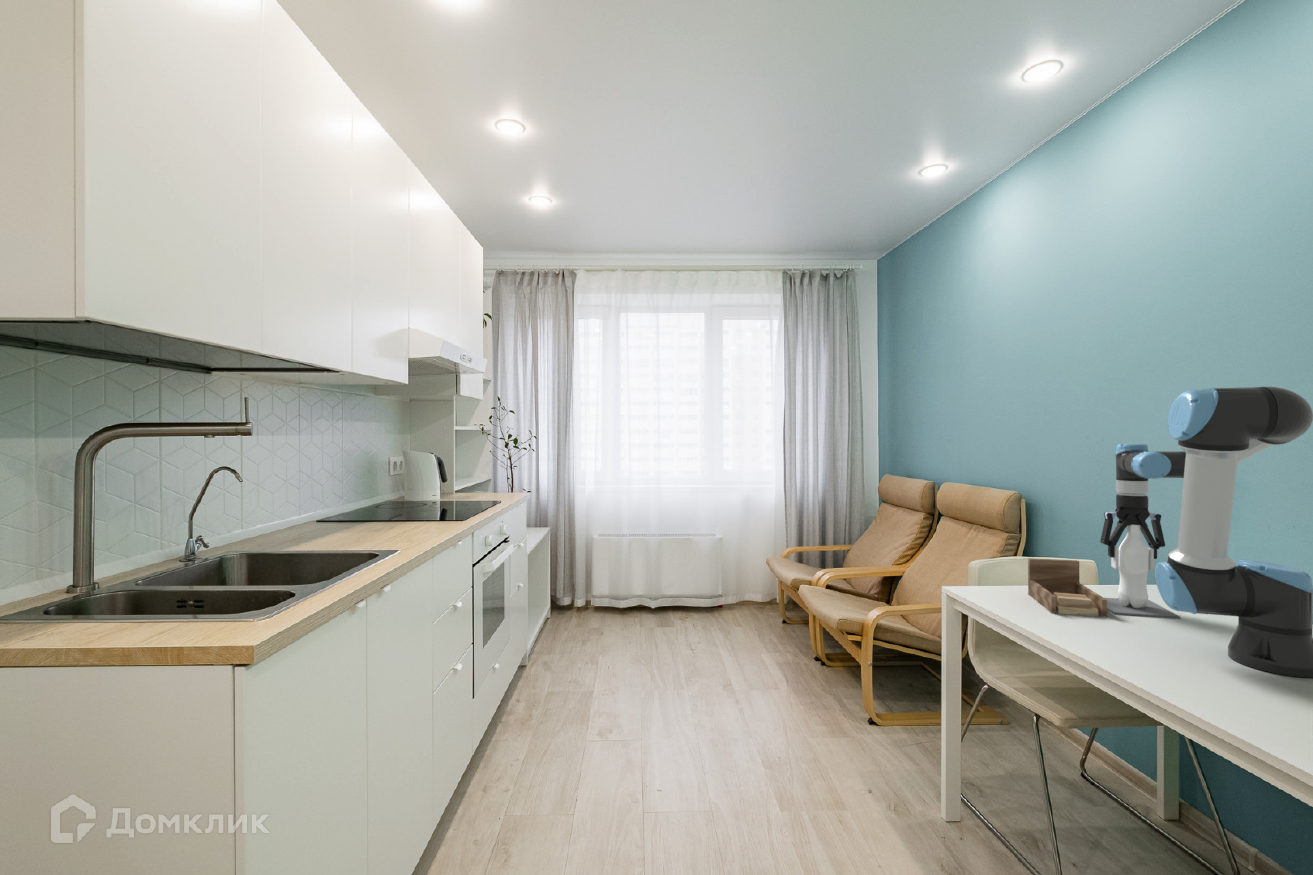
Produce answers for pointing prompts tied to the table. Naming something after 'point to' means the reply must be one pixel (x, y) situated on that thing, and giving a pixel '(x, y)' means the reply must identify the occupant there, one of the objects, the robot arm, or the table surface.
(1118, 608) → the mat
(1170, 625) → the table surface
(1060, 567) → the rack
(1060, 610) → the offcut lower
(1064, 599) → the offcut upper
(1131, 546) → the water bottle
